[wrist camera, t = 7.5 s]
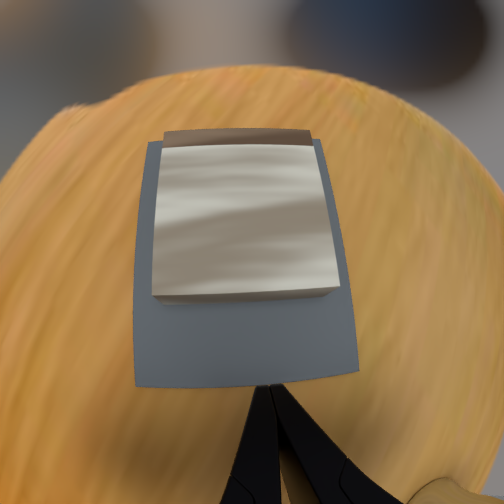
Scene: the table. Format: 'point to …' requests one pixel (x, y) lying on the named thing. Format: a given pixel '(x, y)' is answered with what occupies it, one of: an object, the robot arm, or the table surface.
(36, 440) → the table surface
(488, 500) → the beer glass
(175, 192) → the grey-brown flat block
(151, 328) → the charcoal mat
